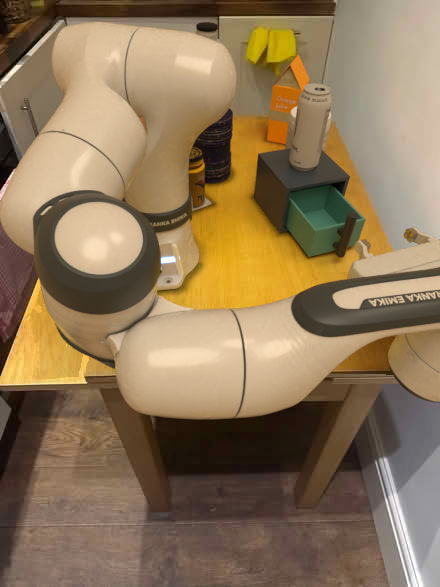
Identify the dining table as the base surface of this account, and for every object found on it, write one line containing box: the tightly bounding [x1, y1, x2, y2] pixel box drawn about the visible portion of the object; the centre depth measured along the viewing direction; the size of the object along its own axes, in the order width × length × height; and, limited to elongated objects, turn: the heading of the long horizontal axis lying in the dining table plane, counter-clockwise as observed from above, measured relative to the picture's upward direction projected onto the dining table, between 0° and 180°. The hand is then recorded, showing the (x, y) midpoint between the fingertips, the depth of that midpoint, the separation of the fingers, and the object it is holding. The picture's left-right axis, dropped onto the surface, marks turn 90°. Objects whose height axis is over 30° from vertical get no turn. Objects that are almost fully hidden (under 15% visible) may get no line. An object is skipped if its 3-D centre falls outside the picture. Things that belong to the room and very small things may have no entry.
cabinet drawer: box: [285, 183, 367, 259], centre depth 80 cm, size 16×11×10 cm
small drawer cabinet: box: [253, 148, 351, 234], centre depth 88 cm, size 14×14×11 cm
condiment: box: [189, 147, 213, 211], centre depth 88 cm, size 7×8×12 cm
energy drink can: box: [289, 82, 333, 171], centre depth 78 cm, size 6×6×15 cm
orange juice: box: [266, 53, 310, 145], centre depth 108 cm, size 8×9×20 cm
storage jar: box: [192, 107, 234, 185], centre depth 96 cm, size 10×10×15 cm
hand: (384, 236), depth 65 cm, fingers open, 8 cm apart
